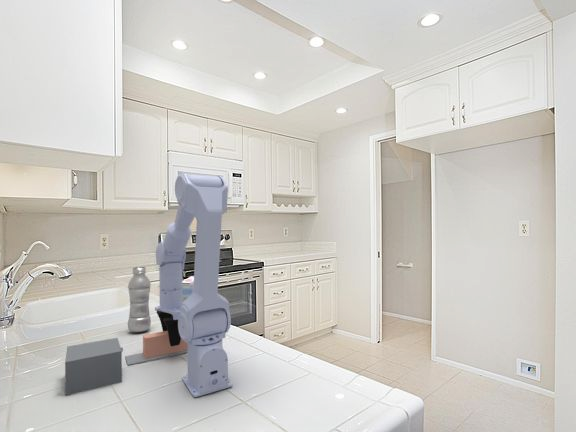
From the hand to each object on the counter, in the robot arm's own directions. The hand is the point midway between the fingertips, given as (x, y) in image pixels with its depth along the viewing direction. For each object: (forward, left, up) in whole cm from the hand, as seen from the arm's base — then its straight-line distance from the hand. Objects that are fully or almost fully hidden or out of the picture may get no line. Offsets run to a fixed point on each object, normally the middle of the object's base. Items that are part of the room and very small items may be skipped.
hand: (171, 340), depth 86 cm
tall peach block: (0, +1, -3) cm, 3 cm away
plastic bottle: (+23, +5, -3) cm, 24 cm away
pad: (0, +4, -3) cm, 5 cm away
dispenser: (-6, +18, -3) cm, 19 cm away
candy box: (+13, -9, -3) cm, 16 cm away
